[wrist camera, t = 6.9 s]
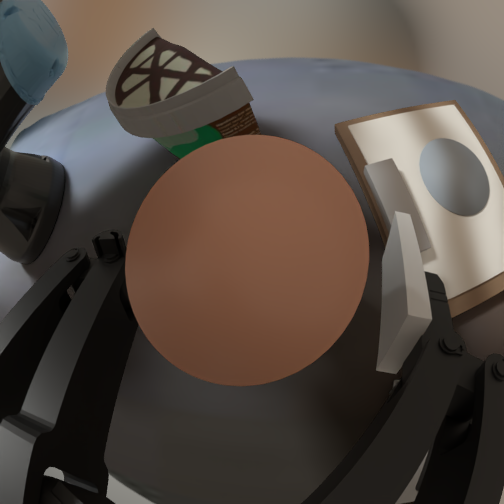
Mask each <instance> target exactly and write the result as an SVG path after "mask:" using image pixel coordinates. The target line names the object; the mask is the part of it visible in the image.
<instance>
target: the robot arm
mask: <svg viewBox="0 0 504 504" xmlns="http://www.w3.org/2000/svg"><path fill="white" fill-rule="evenodd" d="M67 61H68V48H67V43H66V40H65V37H64V35H63V32H62V30H61V28H60V26H59V24H58V22H57V21H56V19H55V18H54V16H53V15H52V13H51V12H50V10H49V9H48V8H47V7H46V5H45V4H44V3H43V2H42V1H41V0H0V252H2V253H3V254H4V255H6V256H7V257H8V258H10V259H11V260H13V261H16V262H20V263H24V264H29V263H31V262H32V261H34V260H35V259H36V258H37V257H38V255H39V254H40V253H41V251H42V250H43V248H44V246H45V244H46V243H47V241H48V239H49V236H50V234H51V232H52V229H53V227H54V224H55V221H56V219H57V215H58V212H59V209H60V205H61V201H62V196H63V191H64V181H65V176H64V169H63V166H62V165H61V163H59V162H58V161H56V160H54V159H53V158H51V157H49V156H40V155H35V154H28V153H19V152H14V151H12V150H10V149H8V148H6V147H5V145H6V144H7V142H8V141H9V139H10V138H11V136H12V135H13V133H14V132H15V131H16V129H17V128H18V126H19V125H20V124H21V123H22V121H23V120H24V119H25V117H26V116H27V115H28V114H29V112H30V111H31V110H32V109H33V108H34V106H35V105H38V104H39V102H40V101H42V99H43V98H44V95H45V93H46V92H47V91H48V90H49V88H50V87H51V86H52V85H53V84H54V83H55V81H56V80H57V79H58V78H59V77H60V76H61V75H62V73H63V72H64V70H65V68H66V65H67ZM92 242H93V245H94V248H95V251H96V253H97V256H98V259H92V258H89V257H88V255H87V252H86V250H85V249H83V248H75V249H72V250H70V251H68V252H67V253H66V254H64V255H63V256H62V257H61V258H60V259H59V260H58V261H57V262H56V263H55V264H54V265H53V266H52V267H51V268H50V269H49V270H48V271H47V272H46V273H45V274H44V275H43V276H42V277H41V278H40V279H39V280H38V281H37V282H36V283H35V284H34V285H33V286H32V287H31V288H30V289H29V290H28V291H27V293H26V294H25V295H24V296H23V297H22V298H21V299H20V300H19V301H18V303H17V304H16V305H15V306H14V307H13V308H12V309H11V311H10V312H9V313H8V314H7V315H6V317H5V318H4V319H3V320H2V321H1V323H0V504H115V503H114V502H112V501H111V500H110V499H108V498H107V497H106V494H107V486H108V477H109V474H108V469H107V467H106V465H105V463H104V452H105V447H106V442H107V437H108V432H109V428H110V423H111V419H112V415H113V411H114V406H115V402H116V399H117V395H118V391H119V387H120V383H121V380H122V376H123V373H124V369H125V366H126V362H127V359H128V356H129V352H130V349H131V346H132V343H133V340H134V336H135V333H136V330H137V327H138V322H137V320H136V317H135V315H134V313H133V310H132V307H131V304H130V300H129V297H128V291H127V286H126V275H125V261H126V250H127V248H126V246H125V242H124V239H123V235H122V233H121V232H120V231H118V230H108V231H105V232H102V233H100V234H98V235H97V236H95V237H94V238H93V239H92ZM70 286H71V288H72V290H73V292H74V294H75V295H74V297H73V299H72V300H71V299H70V297H69V295H68V293H67V291H66V290H67V289H68V288H69V287H70ZM402 365H403V373H402V378H401V379H400V380H399V381H398V383H397V384H396V385H395V386H394V387H393V389H392V390H391V391H390V392H389V394H390V396H389V397H388V399H387V401H386V402H385V404H384V405H383V407H382V408H381V410H380V411H379V413H378V414H377V416H376V417H375V419H374V420H373V422H372V423H371V424H370V426H369V427H368V429H367V430H366V431H365V433H364V434H363V435H362V437H361V438H360V439H359V441H358V442H357V443H356V445H355V446H354V447H353V448H352V450H351V451H350V452H349V453H348V455H347V456H346V457H345V458H344V459H343V461H342V462H341V463H340V464H339V465H338V466H337V467H336V469H335V470H334V471H333V472H332V473H331V474H330V475H329V476H328V477H327V478H326V480H325V481H324V482H323V483H322V484H321V485H320V486H319V487H318V488H317V489H316V490H315V491H314V492H313V493H312V494H311V495H310V496H309V497H308V498H307V499H306V500H305V501H304V502H302V503H301V504H395V503H396V502H397V500H398V499H399V498H400V496H401V495H402V493H403V492H404V490H405V489H406V487H407V486H408V484H409V483H410V481H411V480H412V478H413V476H414V475H415V473H416V472H417V470H418V468H419V466H420V465H421V463H422V461H423V459H424V458H425V456H426V454H427V452H428V450H429V448H430V446H431V445H432V443H433V441H434V439H435V441H434V445H433V448H432V452H431V455H430V459H429V462H428V465H427V468H426V471H425V474H424V477H423V480H422V483H421V486H420V488H419V491H418V493H417V496H416V498H415V501H414V503H413V504H499V502H500V499H501V495H502V491H503V487H504V357H503V356H502V355H500V354H491V355H489V356H488V357H487V359H486V360H485V361H482V360H480V359H478V358H476V357H474V356H472V355H470V354H468V353H467V352H466V346H465V343H464V341H463V340H462V338H461V337H460V336H459V335H458V334H457V333H456V332H454V330H453V324H452V319H451V313H450V308H449V304H448V299H447V295H446V290H445V286H444V283H443V282H442V280H441V279H440V277H439V276H438V275H437V274H434V273H430V272H426V271H424V267H423V263H422V258H421V254H420V249H419V245H418V241H417V237H416V234H415V230H414V226H413V223H412V219H411V216H410V214H406V213H402V212H398V211H395V214H394V218H393V222H392V226H391V230H390V233H389V237H388V241H387V244H386V248H385V251H384V255H383V258H382V305H381V324H380V338H379V349H378V358H377V367H376V371H381V372H387V373H393V374H397V372H398V371H399V370H400V368H401V367H402ZM435 436H436V437H435ZM48 467H55V468H57V469H59V470H61V471H62V472H63V474H64V481H62V480H59V479H56V478H54V477H50V476H46V475H44V472H45V470H46V469H47V468H48Z"/></svg>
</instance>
